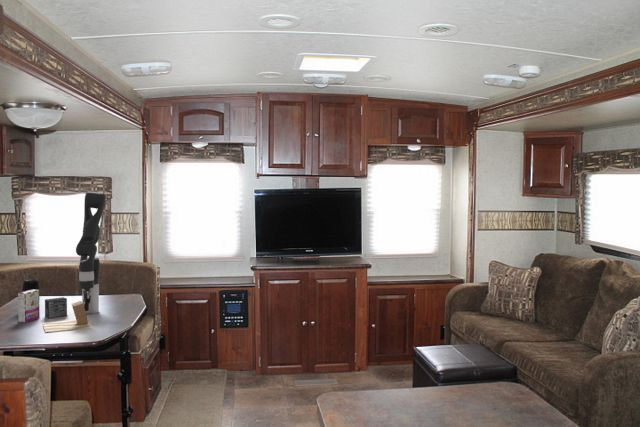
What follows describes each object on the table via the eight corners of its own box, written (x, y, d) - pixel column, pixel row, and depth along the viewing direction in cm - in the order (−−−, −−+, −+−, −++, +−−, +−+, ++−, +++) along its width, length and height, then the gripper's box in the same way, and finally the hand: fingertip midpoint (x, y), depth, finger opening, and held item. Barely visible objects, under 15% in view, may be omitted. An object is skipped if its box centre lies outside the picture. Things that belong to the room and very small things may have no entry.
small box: (63, 314, 316) (63, 296, 316) (67, 316, 312) (67, 298, 311) (44, 316, 309) (44, 298, 309) (48, 318, 304) (48, 300, 304)
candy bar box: (32, 317, 307) (32, 289, 306) (39, 318, 306) (39, 289, 305) (17, 322, 296) (17, 292, 295) (25, 322, 295) (25, 293, 294)
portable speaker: (35, 313, 317) (35, 280, 317) (19, 313, 317) (19, 280, 316) (42, 309, 326) (42, 278, 325) (26, 309, 325) (26, 278, 324)
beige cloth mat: (42, 324, 292) (42, 323, 292) (86, 320, 303) (86, 319, 303) (45, 332, 274) (45, 331, 274) (91, 328, 286) (91, 327, 286)
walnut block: (77, 322, 295) (71, 303, 293) (86, 319, 297) (81, 300, 296) (78, 325, 288) (73, 306, 286) (88, 322, 291) (82, 303, 289)
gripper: (95, 280, 289) (95, 312, 290) (92, 277, 300) (91, 307, 301) (80, 281, 285) (80, 313, 286) (77, 278, 296) (77, 309, 297)
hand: (86, 310), depth 293 cm, fingers closed
